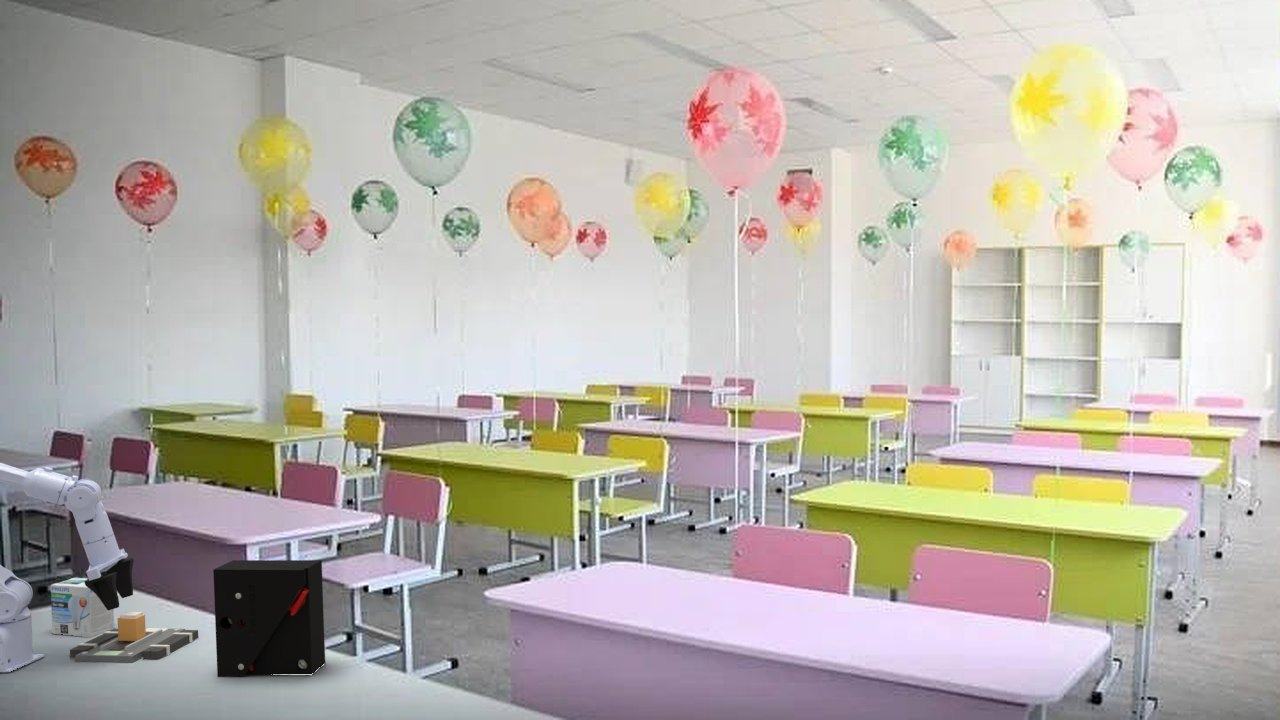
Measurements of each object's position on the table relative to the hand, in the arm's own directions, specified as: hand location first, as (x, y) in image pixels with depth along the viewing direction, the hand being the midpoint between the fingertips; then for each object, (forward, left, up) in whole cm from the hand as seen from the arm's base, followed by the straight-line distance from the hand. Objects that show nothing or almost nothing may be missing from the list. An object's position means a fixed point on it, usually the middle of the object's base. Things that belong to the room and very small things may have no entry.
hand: (120, 602), depth 206 cm
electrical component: (-9, -37, -10) cm, 39 cm away
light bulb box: (+12, +17, -10) cm, 24 cm away
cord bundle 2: (+2, -9, -10) cm, 14 cm away
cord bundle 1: (+2, +6, -10) cm, 12 cm away
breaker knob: (+2, -1, -8) cm, 8 cm away
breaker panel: (+2, -1, -10) cm, 10 cm away
